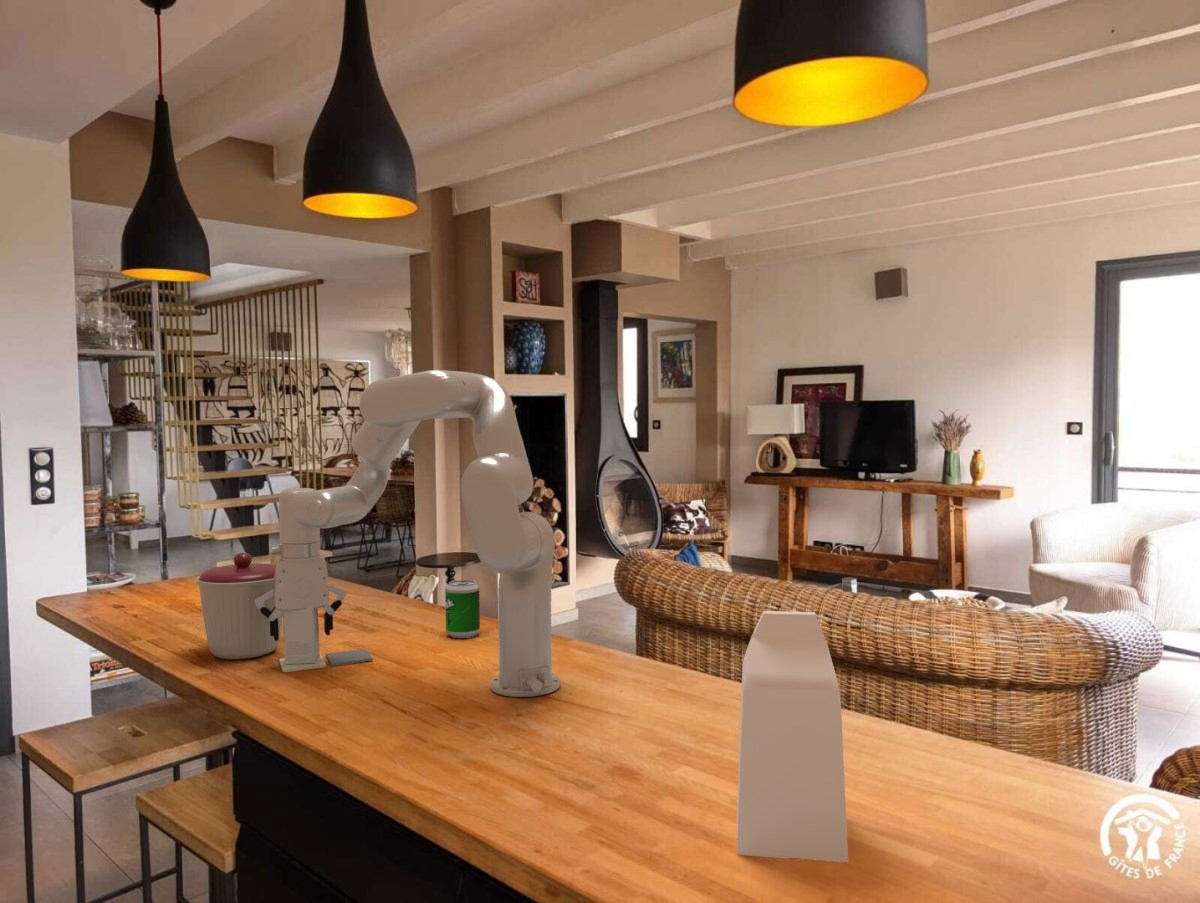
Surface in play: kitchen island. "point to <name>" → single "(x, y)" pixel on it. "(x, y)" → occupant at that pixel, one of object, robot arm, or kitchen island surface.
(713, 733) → the kitchen island surface
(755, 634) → the milk
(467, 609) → the soda can
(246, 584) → the canister
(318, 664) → the sage pad
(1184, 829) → the kitchen island surface
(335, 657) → the slate pad
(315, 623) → the skincare box
